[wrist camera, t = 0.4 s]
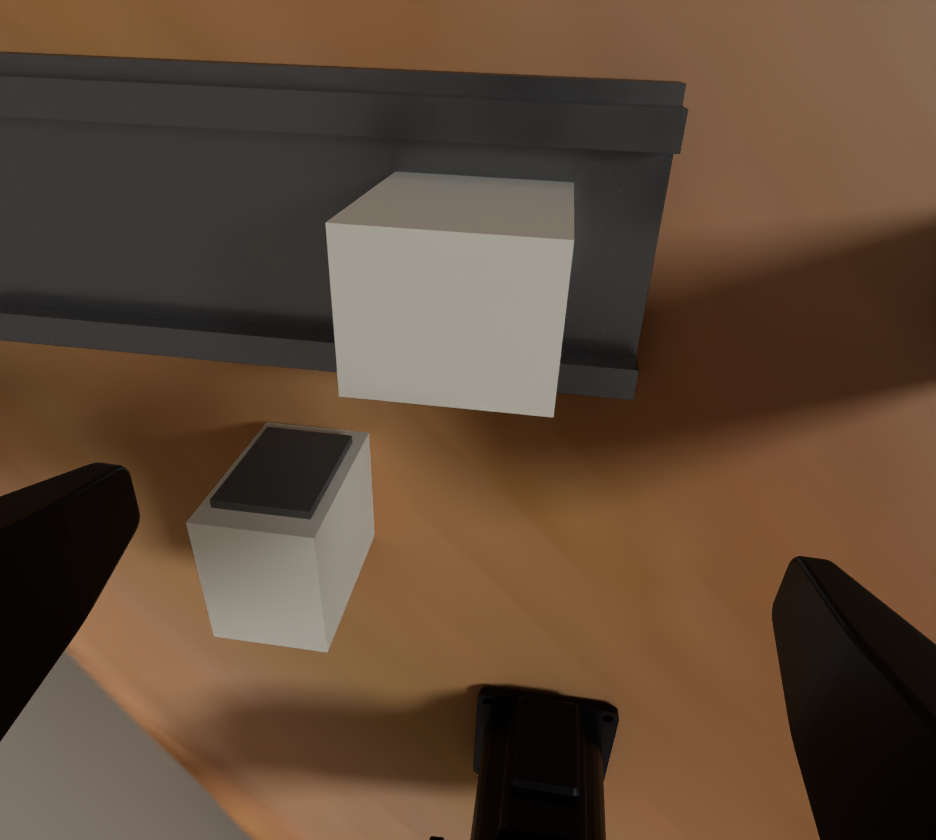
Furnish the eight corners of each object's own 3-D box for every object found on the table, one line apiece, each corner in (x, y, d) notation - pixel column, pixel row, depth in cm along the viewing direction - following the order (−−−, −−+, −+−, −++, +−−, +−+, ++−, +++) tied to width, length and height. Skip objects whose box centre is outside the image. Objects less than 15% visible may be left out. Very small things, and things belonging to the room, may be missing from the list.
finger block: (374, 534, 27) (327, 652, 21) (282, 523, 27) (214, 636, 22) (368, 425, 24) (313, 530, 19) (265, 414, 24) (183, 515, 19)
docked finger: (573, 182, 18) (574, 240, 12) (558, 319, 20) (553, 417, 15) (384, 171, 18) (310, 221, 13) (389, 305, 20) (326, 394, 15)
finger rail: (626, 384, 22) (630, 414, 20) (22, 329, 24) (-20, 351, 22) (680, 81, 17) (692, 86, 15) (-75, 48, 19) (-138, 48, 17)
